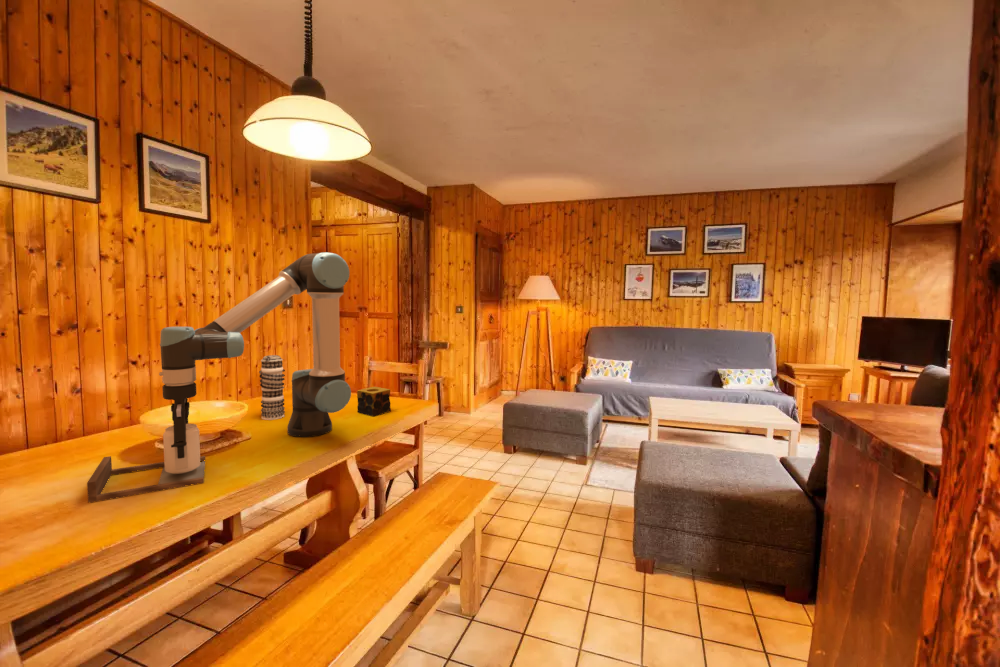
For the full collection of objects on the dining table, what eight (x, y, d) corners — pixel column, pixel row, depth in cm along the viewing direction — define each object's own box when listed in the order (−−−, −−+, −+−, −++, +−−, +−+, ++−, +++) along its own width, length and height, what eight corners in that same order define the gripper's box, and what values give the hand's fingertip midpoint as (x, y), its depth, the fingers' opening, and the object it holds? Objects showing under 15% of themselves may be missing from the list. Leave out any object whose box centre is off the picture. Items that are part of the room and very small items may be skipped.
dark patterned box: (391, 411, 191) (391, 389, 190) (373, 417, 183) (373, 393, 182) (374, 407, 197) (375, 386, 196) (356, 412, 188) (356, 390, 187)
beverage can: (170, 465, 125) (168, 424, 124) (203, 462, 128) (202, 422, 127) (160, 476, 118) (158, 433, 116) (195, 473, 120) (194, 430, 119)
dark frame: (205, 459, 133) (204, 443, 133) (203, 482, 118) (202, 464, 117) (105, 474, 121) (104, 457, 120) (88, 502, 105) (87, 482, 105)
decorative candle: (268, 413, 183) (267, 354, 181) (290, 414, 183) (289, 354, 180) (255, 419, 174) (253, 357, 172) (278, 420, 174) (276, 358, 171)
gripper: (166, 377, 127) (169, 453, 129) (157, 392, 110) (161, 479, 112) (197, 375, 131) (200, 449, 133) (194, 389, 114) (197, 474, 116)
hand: (182, 463), depth 123 cm, fingers closed on beverage can, 8 cm apart
